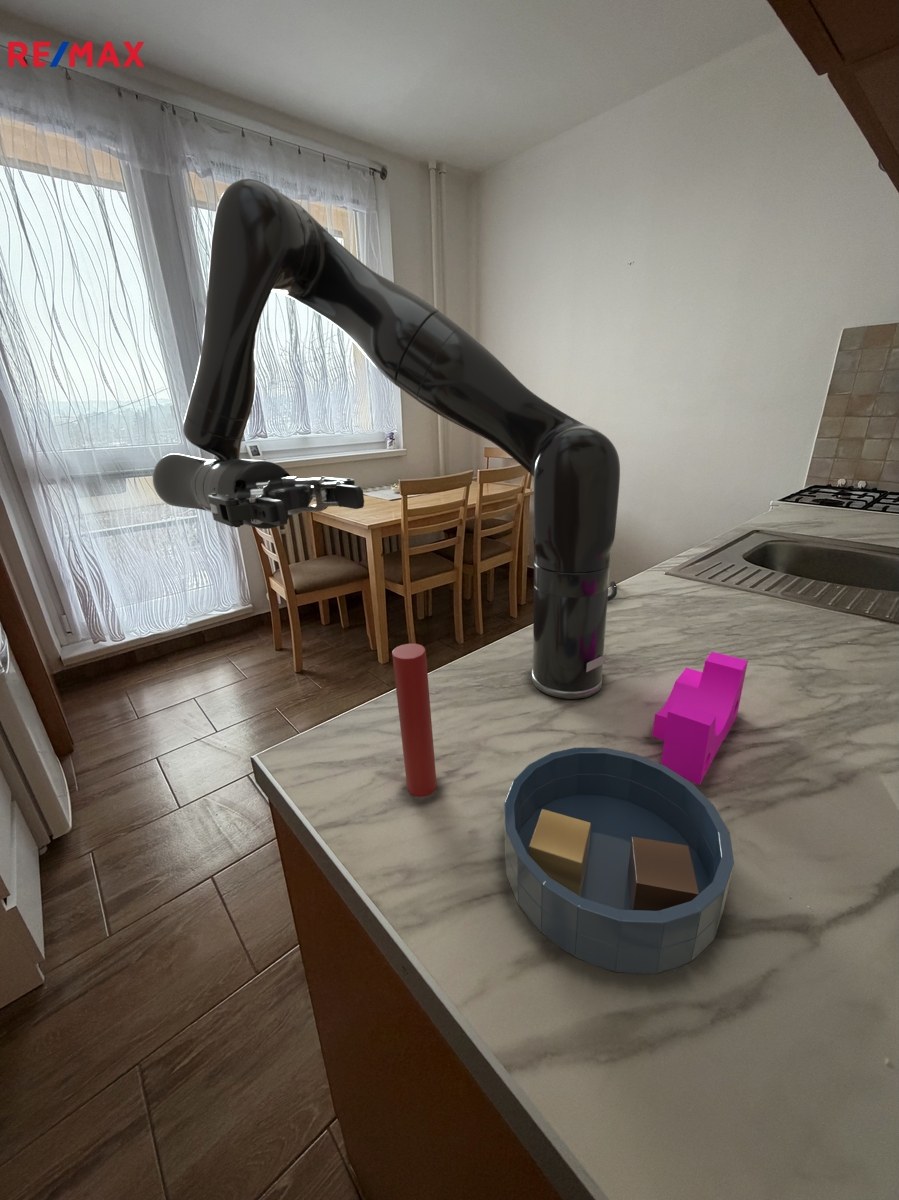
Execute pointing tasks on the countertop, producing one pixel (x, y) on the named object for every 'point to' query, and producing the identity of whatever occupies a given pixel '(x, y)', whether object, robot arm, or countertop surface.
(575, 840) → the birch cube
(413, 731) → the stirring stick
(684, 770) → the toy block
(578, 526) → the robot arm
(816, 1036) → the countertop surface
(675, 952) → the bowl
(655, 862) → the walnut cube
